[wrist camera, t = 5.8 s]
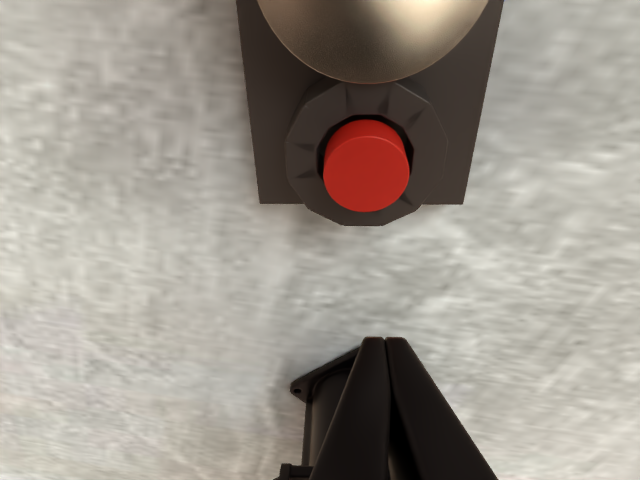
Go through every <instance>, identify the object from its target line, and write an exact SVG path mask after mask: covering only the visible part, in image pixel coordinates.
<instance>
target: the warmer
mask: <svg viewBox="0 0 640 480" xmlns="http://www.w3.org/2000/svg"><path fill="white" fill-rule="evenodd" d="M503 2H504V0H489V1H488V3H487V5H486V7H485V8H484V10H483V12H482V13H481V15H480V17H479V18H478V20H477V21H476V22H475V24H474V25H473V27H472V28H471V29H470V31H469V32H468V33H467V34H466V35H465V36H464V38H463V39H462V40H461V41H460V42H459V43H458V44H457V45H456V46H455V47H454V48H453V49H452V50H451V51H449V52H448V53H447V54H446V55H445V56H444V57H442V58H441V59H439V60H438V61H437V62H435V63H434V64H432V65H431V66H429V67H427V68H425V69H423V70H422V71H420V72H418V73H416V74H413V75H410V76H408V77H405V78H403V79H399V80H395V81H391V82H386V83H377V84H357V83H351V82H344V81H341V80H337V79H334V78H331V77H328V76H326V75H324V74H322V73H319V72H317V71H316V70H314V69H312V68H311V67H309V66H307V65H306V64H304V63H303V62H302V61H300V60H299V59H298V58H297V57H295V56H294V55H293V54H292V53H291V52H290V51H289V50H288V49H287V48H286V47H285V46H284V45H283V44H282V43H281V41H280V40H279V39H278V37H277V36H276V35H275V33H274V32H273V31H272V29H271V27H270V26H269V24H268V22H267V21H266V19H265V17H264V15H263V13H262V11H261V9H260V6H259V4H258V2H257V0H236V6H237V14H238V23H239V31H240V40H241V48H242V57H243V65H244V74H245V82H246V91H247V99H248V108H249V116H250V125H251V133H252V142H253V150H254V159H255V167H256V176H257V184H258V193H259V201H260V204H305V205H306V207H307V208H308V209H310V210H311V211H313V212H315V213H317V214H319V215H321V216H323V217H325V218H327V219H330V220H332V221H334V222H336V223H338V224H340V225H344V226H380V225H381V226H383V225H385V224H388V223H390V222H392V221H394V220H396V219H399V218H401V217H403V216H405V215H408V214H410V213H412V212H414V211H416V209H418V208H419V207H420V206H421V204H459V205H462V204H463V201H464V197H465V192H466V187H467V182H468V177H469V172H470V167H471V162H472V157H473V152H474V147H475V142H476V137H477V132H478V127H479V122H480V117H481V112H482V107H483V102H484V97H485V92H486V87H487V82H488V77H489V72H490V67H491V62H492V57H493V52H494V47H495V42H496V37H497V32H498V27H499V22H500V17H501V12H502V7H503ZM362 119H370V120H376V121H380V122H383V123H385V124H387V125H388V126H390V127H391V128H392V129H394V130H395V131H396V133H397V134H398V135H399V137H400V138H401V140H402V142H403V145H404V149H405V153H406V157H407V160H408V164H409V180H408V183H407V186H406V188H405V190H404V192H403V193H402V195H401V196H400V197H399V198H398V199H397V200H396V201H395V202H394V203H392V204H391V205H389V206H387V207H385V208H383V209H380V210H377V211H372V212H357V211H352V210H349V209H347V208H344V207H343V206H341V205H339V204H338V203H337V202H336V201H335V200H334V199H333V198H332V197H331V196H330V195H329V193H328V191H327V190H326V187H325V184H324V179H323V171H324V157H325V150H326V146H327V143H328V142H329V140H330V138H331V137H332V135H333V134H334V133H335V132H336V131H337V130H338V129H339V128H341V127H342V126H344V125H345V124H348V123H350V122H353V121H356V120H362Z"/></svg>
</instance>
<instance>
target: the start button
mask: <svg viewBox="0 0 640 480" xmlns="http://www.w3.org/2000/svg"><path fill="white" fill-rule="evenodd" d="M323 179H324V184H325V187H326V190H327V191H328V193H329V195H330V196H331V197H332V198H333V199H334V200H335V201H336V202H337V203H338V204H339V205H341V206H343V207H344V208H347V209H349V210H352V211H357V212H372V211H377V210H380V209H383V208H385V207H387V206H389V205H391V204H392V203H394V202H395V201H396V200H397V199H398V198H399V197H400V196H401V195H402V193H403V192H404V190H405V188H406V186H407V183H408V180H409V164H408V160H407V157H406V153H405V149H404V145H403V142H402V140H401V138H400V137H399V135H398V134H397V133H396V131H395V130H394V129H392V128H391V127H390V126H388V125H387V124H385V123H383V122H380V121H376V120H370V119H362V120H356V121H353V122H350V123H348V124H345V125H344V126H342V127H341V128H339V129H338V130H337V131H336V132H335V133H334V134H333V135H332V137H331V138H330V140H329V142H328V143H327V146H326V150H325V157H324V171H323Z"/></svg>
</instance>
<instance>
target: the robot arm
mask: <svg viewBox="0 0 640 480" xmlns="http://www.w3.org/2000/svg"><path fill="white" fill-rule="evenodd" d="M290 392H291V393H292V394H293V395H294V396H296V397H297V398H299V399H300V400H302V401H303V402H305V403H306V411H305V424H304V438H303V452H302V465H301V466H297V465H291V464H287V463H282V464H281V469H280V475H279V477H277V478H275V479H273V480H498V479H497V477H496V475H495V474H494V472H493V471H492V469H491V468H490V466H489V465H488V463H487V462H486V460H485V459H484V457H483V456H482V454H481V453H480V451H479V450H478V448H477V447H476V445H475V444H474V442H473V441H472V439H471V437H470V436H469V434H468V433H467V431H466V430H465V428H464V427H463V425H462V424H461V422H460V421H459V419H458V418H457V416H456V415H455V413H454V412H453V410H452V409H451V407H450V406H449V404H448V403H447V401H446V399H445V398H444V396H443V395H442V393H441V392H440V390H439V389H438V387H437V386H436V384H435V383H434V381H433V380H432V378H431V377H430V375H429V374H428V372H427V371H426V369H425V368H424V366H423V365H422V363H421V361H420V360H419V358H418V357H417V355H416V354H415V352H414V351H413V349H412V348H411V346H410V345H409V343H408V342H407V340H406V339H405V338H402V337H387V338H385V340H384V339H383V338H382V337H365V338H364V339H363V342H362V344H361V347H360V348H358V349H356V350H354V351H352V352H350V353H348V354H346V355H344V356H342V357H340V358H338V359H336V360H335V361H333V362H331V363H329V364H327V365H325V366H323V367H321V368H319V369H317V370H315V371H313V372H311V373H310V374H308V375H306V376H304V377H302V378H300V379H298V380H296V381H294V382H293V383H291V386H290Z"/></svg>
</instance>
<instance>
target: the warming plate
mask: <svg viewBox="0 0 640 480" xmlns="http://www.w3.org/2000/svg"><path fill="white" fill-rule="evenodd" d="M488 1H489V0H257V2H258V4H259V6H260V9H261V11H262V13H263V15H264V17H265V19H266V21H267V22H268V24H269V26H270V27H271V29H272V31H273V32H274V33H275V35H276V36H277V37H278V39H279V40H280V41H281V43H282V44H283V45H284V46H285V47H286V48H287V49H288V50H289V51H290V52H291V53H292V54H293V55H294V56H295V57H297V58H298V59H299V60H300V61H302V62H303V63H304V64H306V65H307V66H309V67H311V68H312V69H314V70H316V71H317V72H319V73H322V74H324V75H326V76H328V77H331V78H334V79H337V80H341V81H344V82H351V83H357V84H377V83H386V82H391V81H395V80H399V79H403V78H405V77H408V76H410V75H413V74H416V73H418V72H420V71H422V70H423V69H425V68H427V67H429V66H431V65H432V64H434V63H435V62H437V61H438V60H439V59H441V58H442V57H444V56H445V55H446V54H447V53H448V52H449V51H451V50H452V49H453V48H454V47H455V46H456V45H457V44H458V43H459V42H460V41H461V40H462V39H463V38H464V36H465V35H466V34H467V33H468V32H469V31H470V29H471V28H472V27H473V25H474V24H475V22H476V21H477V20H478V18H479V17H480V15H481V13H482V12H483V10H484V8H485V7H486V5H487V3H488Z"/></svg>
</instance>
